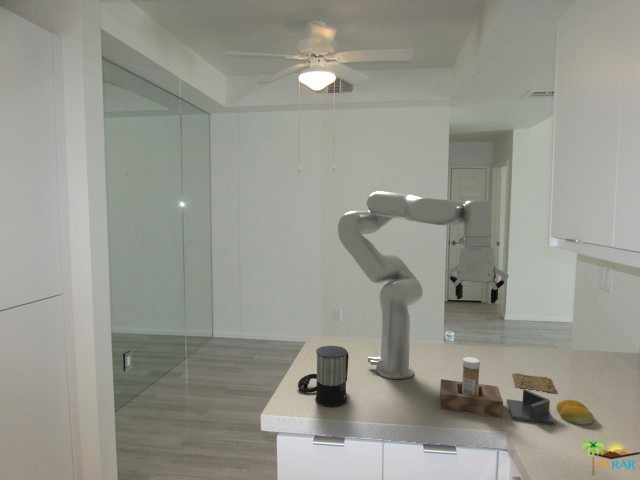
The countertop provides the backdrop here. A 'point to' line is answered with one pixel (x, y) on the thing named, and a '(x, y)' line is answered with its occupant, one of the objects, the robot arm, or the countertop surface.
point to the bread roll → (574, 412)
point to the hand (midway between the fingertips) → (476, 300)
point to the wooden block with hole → (471, 399)
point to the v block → (531, 409)
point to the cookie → (534, 383)
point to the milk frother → (329, 376)
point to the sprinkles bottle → (470, 376)
